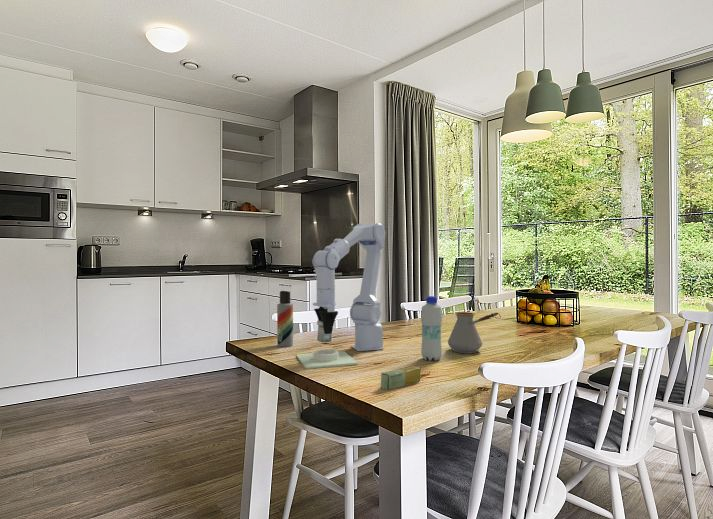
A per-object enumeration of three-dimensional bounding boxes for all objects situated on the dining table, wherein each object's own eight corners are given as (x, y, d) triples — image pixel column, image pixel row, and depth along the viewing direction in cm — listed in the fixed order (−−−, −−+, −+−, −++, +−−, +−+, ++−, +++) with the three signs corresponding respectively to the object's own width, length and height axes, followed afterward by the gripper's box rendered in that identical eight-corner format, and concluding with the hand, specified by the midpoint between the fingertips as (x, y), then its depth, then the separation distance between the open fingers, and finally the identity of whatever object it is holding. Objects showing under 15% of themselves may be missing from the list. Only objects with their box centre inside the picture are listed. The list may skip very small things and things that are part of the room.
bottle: (443, 357, 140) (443, 295, 140) (440, 362, 134) (440, 297, 133) (422, 355, 142) (422, 294, 142) (418, 360, 136) (418, 296, 135)
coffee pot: (440, 349, 152) (440, 306, 152) (466, 345, 157) (466, 304, 157) (484, 363, 133) (484, 314, 132) (512, 358, 138) (512, 311, 138)
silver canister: (330, 337, 141) (331, 319, 140) (334, 342, 136) (335, 323, 135) (314, 337, 139) (315, 319, 138) (318, 343, 134) (319, 324, 133)
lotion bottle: (274, 346, 157) (273, 291, 157) (282, 343, 163) (282, 289, 162) (288, 347, 155) (287, 291, 155) (296, 344, 161) (295, 290, 160)
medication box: (387, 391, 107) (387, 375, 107) (379, 388, 109) (380, 372, 109) (420, 382, 115) (421, 367, 114) (413, 379, 117) (413, 364, 117)
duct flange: (343, 352, 147) (343, 345, 147) (358, 364, 132) (358, 356, 132) (296, 356, 142) (296, 348, 142) (305, 369, 127) (305, 360, 127)
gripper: (308, 287, 142) (308, 328, 142) (318, 291, 128) (318, 337, 129) (329, 286, 144) (329, 327, 145) (341, 290, 130) (341, 335, 131)
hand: (325, 332), depth 137 cm, fingers closed on silver canister, 5 cm apart
